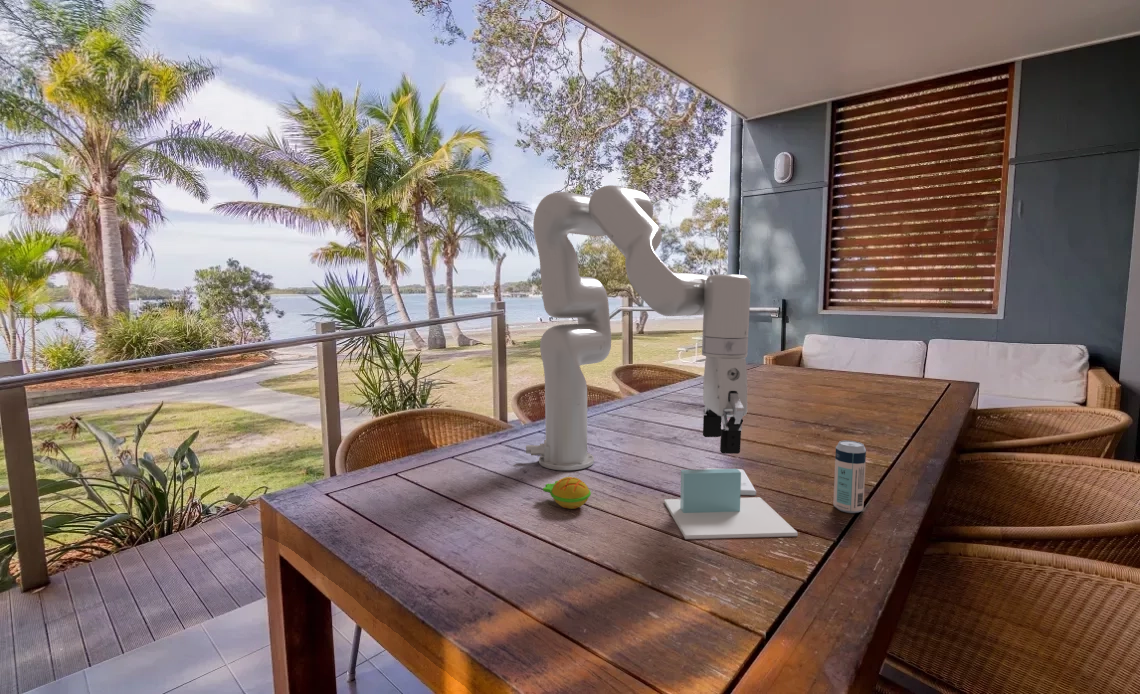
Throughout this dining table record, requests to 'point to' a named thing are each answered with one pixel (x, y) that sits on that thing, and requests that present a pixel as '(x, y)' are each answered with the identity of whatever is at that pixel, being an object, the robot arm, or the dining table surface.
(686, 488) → the tile
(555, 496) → the yellow green rounded piece
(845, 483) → the beer can
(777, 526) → the mat
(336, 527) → the dining table surface
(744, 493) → the external hard drive
